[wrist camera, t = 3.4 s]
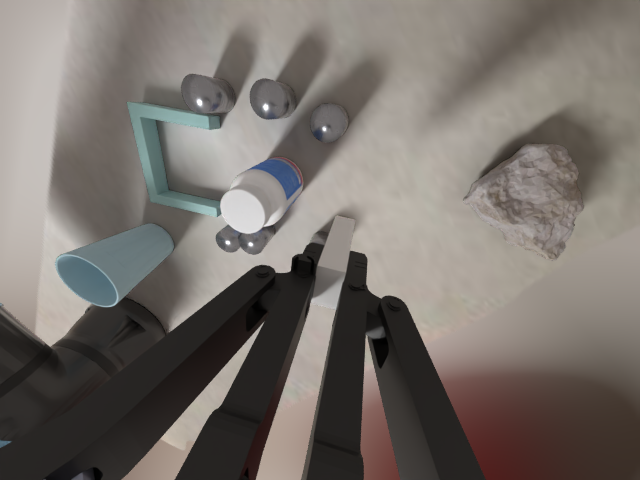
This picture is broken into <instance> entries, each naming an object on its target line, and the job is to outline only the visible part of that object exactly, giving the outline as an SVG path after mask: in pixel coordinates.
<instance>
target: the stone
mask: <svg viewBox="0 0 640 480" xmlns="http://www.w3.org/2000/svg"><path fill="white" fill-rule="evenodd" d="M578 175H579V171H578V169H577V167H576V165H575V163H573V162H572V160H571V157H570V156H569V155H568V150H567V149H566V148H565V147H563V146H561V145H558V144H526V145H524V146H523V147H521V148H520V150H518V151H517V152H516V153H515V154H514V155H513V156H512V157H511V158H509V159H508V160H505V161H503V162H502V163H500V164H499V165H498V166H497V167H495V168H494V169H493V170H491V171H490V172H489V173H488V174H486V175H485V176H484V177H482V178H480V179H479V180H477V181H475V182H474V183H473V184H472V187H471V190H470V193H469V194H467V195H466V197H465V198H464V199H463V201H464V202H463V203H464V204H470V205H471V207H472V208H473V209H474V210H475V211H476V212H477V214H478V215H479V216H480V217H481V219H482V220H483V221H485V222H487V223H489V224H490V225H491V226H493V227H495V228H498V229H500V230H501V231H502V232H503V233H504V235H505V240H506V241H507V242H508V243H509V244H511V245H514V246H521V247H524V248H525V250H532V251H534V252H536V254H537V255H540V256H542V257H544V258H546V259H549V260H552V261H553V260H556V259H557V258H558V257H559V256H560V254H561V253H562V252H563V251H564V249H565V248H566V247H565V242H566V241H567V240H568V239H569V237H570V236H571V234H572V232H573V229H574V228H573V227H574V226H575V224H574V221H575V219H576V217H577V215H578V214H579V213H580V212H581V211H582V210H583V208H584V205H583V203H582V198H581V192H580V190H579V189H578V187H577V178H578Z"/></svg>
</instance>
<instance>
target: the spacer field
mask: <svg viewBox="0 0 640 480" xmlns="http://www.w3.org/2000/svg"><path fill="white" fill-rule="evenodd" d="M181 91H182V96H183V99H184V101H185V103H186V104H187V106H188V107H189V108H190V109H191V110H193V111H194V112H196V113H227V112H229V111H231V110H232V109H233V107H234V104H235V94H234V91H233V89H232V87H231V86H230V85H229V84H228V83H227V82H226V81H224V80H222V79H217V78H212V77H207V76H202V75H197V74H189V75H187V76H186V77H185V78H184V80H183V82H182V86H181ZM250 103H251V106H252V108H253V110H254V111H255V113H256V114H257V115H258V116H260V117H261V118H263V119H279V118H286V117H289V116H290V115H291V114H292V113H293V112H294V110H295V107H296V96H295V93H294V91H293V90H292V89H291V88H290V87H289V86H288V85H286V84H284V83H280V82H277V81H273V80H270V79H260V80H258V81H256V82H255V83H254V85H253V86H252V88H251V91H250ZM348 124H349V117H348V114H347V112H346V110H345V109H344V108H343V107H342V106H340V105H337V104H329V103H326V104H322V105H320V106H318V107H317V108H316V109H315V110H314V111H313V113H312V115H311V119H310V127H311V131H312V133H313V135H314V136H315V137H316V138H317V139H318V140H320V141H322V142H326V143H329V142H333V141H335V140H337V139H338V138H339V137H340V136H341V135H343V134H344V133H345V131H346V130H347V128H348ZM274 234H275V228H274V226H273V225H270V226H266V227H262V228H261V229H260V230H259V231H257V232H255V233H251V234H246V233H241V232H239V231H237V230H235V229H233V228H232V227H231V226H230V225H229V224H228V225H227V226H226V227H225V228H223V229H222V230H221V231H220V232H218V233H217V235H216V242H217V244H218V246H219V247H220V248H221V249H223V250H224V251H226V252H235V251H237V250H238V249H239V248H240V247H241V248H242V249H243V250H244V251H245V252H247V253H249V254H253V255H255V254H259V253H260V252H261V251H262V250H263V249H264V247H265V246H266V245H267V243H268V242H269V241H270V240H271V238H272V237H273V236H274ZM328 235H329V234H328V233H326V232H318V233H316V234H314V235H313V237H312V239H311V241H310V243H311V242H313V243H317V244H321V245H325V243H326V241H327V238H328ZM310 243H309V244H310Z"/></svg>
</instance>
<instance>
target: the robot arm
mask: <svg viewBox="0 0 640 480" xmlns="http://www.w3.org/2000/svg"><path fill="white" fill-rule="evenodd" d="M354 226H355V219H350V218H346V217H341V216H337V215H336V216H335V219H334V222H333V225H332V227H331V230H330V233H329V235H328V238H327V241H326V243H325V245H321V244H317V243H313V242H311V243H310V244H308V245H307V246H306V248H305V250H304V252H303V254H297V255H295V256H294V257H293V258H292V266H291V271H290V272H288V273H275V270H274V269H273V268H272V267H270V266H267V265H259V266H255V267H254V268H252V269H251V270H249V271H248V272H247V273H246V274H244V275H243V276H242V277H240V278H239V279H238V280H237V281H235V282H234V283H233V284H231V285H230V286H229V287H228V288H226V289H225V290H224V291H222V292H221V293H220V294H219V295H217V296H216V297H215V298H213V299H212V300H211V301H210V302H208V303H207V304H206V305H204V306H203V307H202V308H201V309H199V310H198V311H197V312H195V313H194V314H193V315H192V316H190V317H189V318H188V319H186V320H185V321H184V322H183V323H181V324H180V325H179V326H177V327H176V328H175V329H174V330H172V331H171V332H170V333H168V334H167V335H166V336H165V332H164V329H163V327H162V326H161V324H160V323H159V321H158V320H157V319H156V318H155V317H154V316H153V315H152V314H151V313H150V312H149V311H147V310H146V309H145V308H143V307H142V306H140V305H139V304H137V303H135V302H133V301H131V300H129V299H126V298H122V299H121V300H120V301H119V302H118V303H117V304H116V305H114V306H112V307H101V306H97V305H94V304H91V305H90V306H89V307H88V308H87V309H86V311H85V314H84V315H83V316H82V317H81V318H80V319H79V320H78V321H77V322H76V323H75V324H74V326H73V327H72V328H71V329H70V330H69V332H68V333H67V334H66V335H65V336H64V337H63V338H62V339H60V340H59V341H58V342H56V343H55V344H54V345H52V346H51V347H49V346H48V345H47V344H46V343H45V342H44V341H42V340H41V339H40V338H39V337H38V336H36V335H35V334H34V333H32V332H31V331H30V330H29V329H28V328H26V326H25V325H23V324H22V323H21V322H20V321H19V320H18V319H16V318H15V317H14V316H13V315H12V314H11V313H10V312H8V311H7V310H6V309H5V308H4V307H3V304H1V303H0V480H121V479H122V478H123V477H125V476H126V475H127V474H128V473H129V472H130V471H131V470H132V469H133V468H134V467H135V465H136V464H137V463H138V462H139V461H140V460H141V459H142V458H143V457H144V456H145V455H146V454H147V452H149V450H150V449H151V448H152V447H153V446H154V445H155V444H156V443H157V441H158V440H159V439H160V438H161V437H162V436H163V435H164V434H165V432H166V431H167V430H168V429H169V428H170V427H171V426H172V425H173V423H174V422H175V421H176V420H177V419H178V418H179V417H180V416H181V414H182V413H183V412H184V411H185V410H186V409H187V408H188V407H189V405H190V404H191V403H192V402H193V401H194V400H195V399H196V398H197V396H198V395H199V394H200V393H201V392H202V391H203V390H204V389H205V387H206V386H207V385H208V384H209V383H210V382H211V381H212V380H213V378H214V377H215V376H216V375H217V374H218V373H219V372H220V371H221V369H222V368H223V367H224V366H225V365H226V364H227V363H228V362H229V360H230V359H231V358H232V357H233V356H234V355H235V354H236V353H237V351H238V350H239V349H240V348H241V347H242V346H243V345H244V344H245V342H246V341H247V340H248V339H249V338H250V337H251V336H252V335H253V333H254V332H255V331H256V330H257V329H258V328H259V327H260V326H261V324H262V323H263V322H264V321H265V322H264V324H263V326H262V328H261V330H260V332H259V333H258V335H257V337H256V339H255V341H254V343H253V345H252V347H251V349H250V351H249V353H248V355H247V357H246V359H245V361H244V363H243V364H242V366H241V368H240V370H239V372H238V374H237V376H236V378H235V380H234V382H233V384H232V386H231V388H230V390H229V392H228V394H227V395H226V397H225V399H224V401H223V403H222V405H221V406H220V407H219V408H218V409H216V410H214V411H213V412H212V414H211V415H210V416H209V418H208V420H207V421H206V423H205V425H204V427H203V428H202V430H201V432H200V434H199V436H198V438H197V440H196V441H195V443H194V445H193V447H192V449H191V451H190V453H189V454H188V457H187V458H186V460H185V462H184V464H183V466H182V467H181V469H180V471H179V473H178V475H177V477H176V479H175V480H256V476H257V473H258V469H259V465H260V461H261V457H262V453H263V450H264V447H265V444H266V441H267V438H268V435H269V432H270V428H271V426H272V422H273V419H274V416H275V413H276V410H277V407H278V404H279V401H280V398H281V395H282V392H283V389H284V386H285V383H286V380H287V376H288V373H289V370H290V367H291V364H292V361H293V358H294V355H295V352H296V349H297V346H298V343H299V340H300V337H301V333H302V330H303V327H304V324H305V321H306V318H307V315H308V312H309V307H310V303H311V304H315V305H319V306H322V307H326V308H330V309H334V310H336V313H335V317H334V321H333V325H332V331H331V336H330V341H329V346H328V351H327V356H326V361H325V366H324V371H323V376H322V381H321V386H320V391H319V396H318V401H317V406H316V411H315V415H314V421H313V426H312V430H311V435H310V440H309V445H308V450H307V455H306V460H305V465H304V470H303V474H302V479H301V480H363V479H364V465H363V458H362V455H361V451H360V440H361V420H362V398H363V379H364V358H365V338H366V335H367V336H368V342H369V347H370V351H371V355H372V359H373V364H374V368H375V372H376V377H377V381H378V385H379V390H380V394H381V398H382V403H383V407H384V411H385V416H386V419H387V424H388V429H389V433H390V437H391V441H392V446H393V450H394V454H395V459H396V463H397V467H398V472H399V476H400V480H486V479H485V477H484V475H483V473H482V470H481V468H480V466H479V464H478V461H477V459H476V457H475V455H474V453H473V451H472V448H471V446H470V444H469V442H468V440H467V437H466V435H465V433H464V431H463V428H462V426H461V424H460V422H459V420H458V417H457V415H456V413H455V411H454V409H453V406H452V404H451V402H450V400H449V398H448V396H447V393H446V391H445V389H444V387H443V385H442V382H441V380H440V378H439V376H438V374H437V371H436V369H435V367H434V365H433V363H432V360H431V358H430V356H429V354H428V352H427V350H426V347H425V345H424V343H423V341H422V338H421V336H420V334H419V332H418V330H417V327H416V325H415V323H414V321H413V319H412V316H411V314H410V312H409V310H408V308H407V306H406V304H405V303H404V302H403V301H402V300H401V299H399V298H397V297H394V296H385V297H383V298H382V299H381V298H379V297H377V296H375V295H373V294H372V293H371V292H370V291H369V290H368V288H367V285H366V277H367V257H366V256H365V254H362V253H358V252H354V251H350V248H351V242H352V237H353V231H354Z"/></svg>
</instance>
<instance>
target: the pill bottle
mask: <svg viewBox="0 0 640 480" xmlns="http://www.w3.org/2000/svg"><path fill="white" fill-rule="evenodd" d="M302 188H303V177H302V173H301V171H300V169H299V168H298V167H297V165H296V164H295V163H294V162H292V161H291V160H289V159H287V158H284V157H273V158H270V159H267V160H265V161H264V162H262V163H260V164H258V165H256V166H254V167H252V168H250V169H248V170H246V171H244V172H242V173H241V174H239V175H238V176H237V177H236V178H235V179H234V181H233V182H232V184H231V187H230V190H229V191H227V192H226V193H225V194H224V195H223V197H222V199H221V203H220V208H221V213H222V216H223V218H224V219H225V221H226V222H227V223H228V224H229V225H230V226H231V227H232V228H233V229H235V230H237V231H239V232H241V233H246V234H251V233H255V232H257V231H259V230H260V229H261V228H262V227H266V226H270V225H273V224H274V223H276V222H277V221H278V220H279V219H280V218H281V217H282V216H283V215H284V214H285V212H286V211H287V210H288V209H289V208H290V206H291V205H292V204H293V203H294V202H295V200H296V199H297V198H298V196H299V195H300V193H301V191H302Z"/></svg>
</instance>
